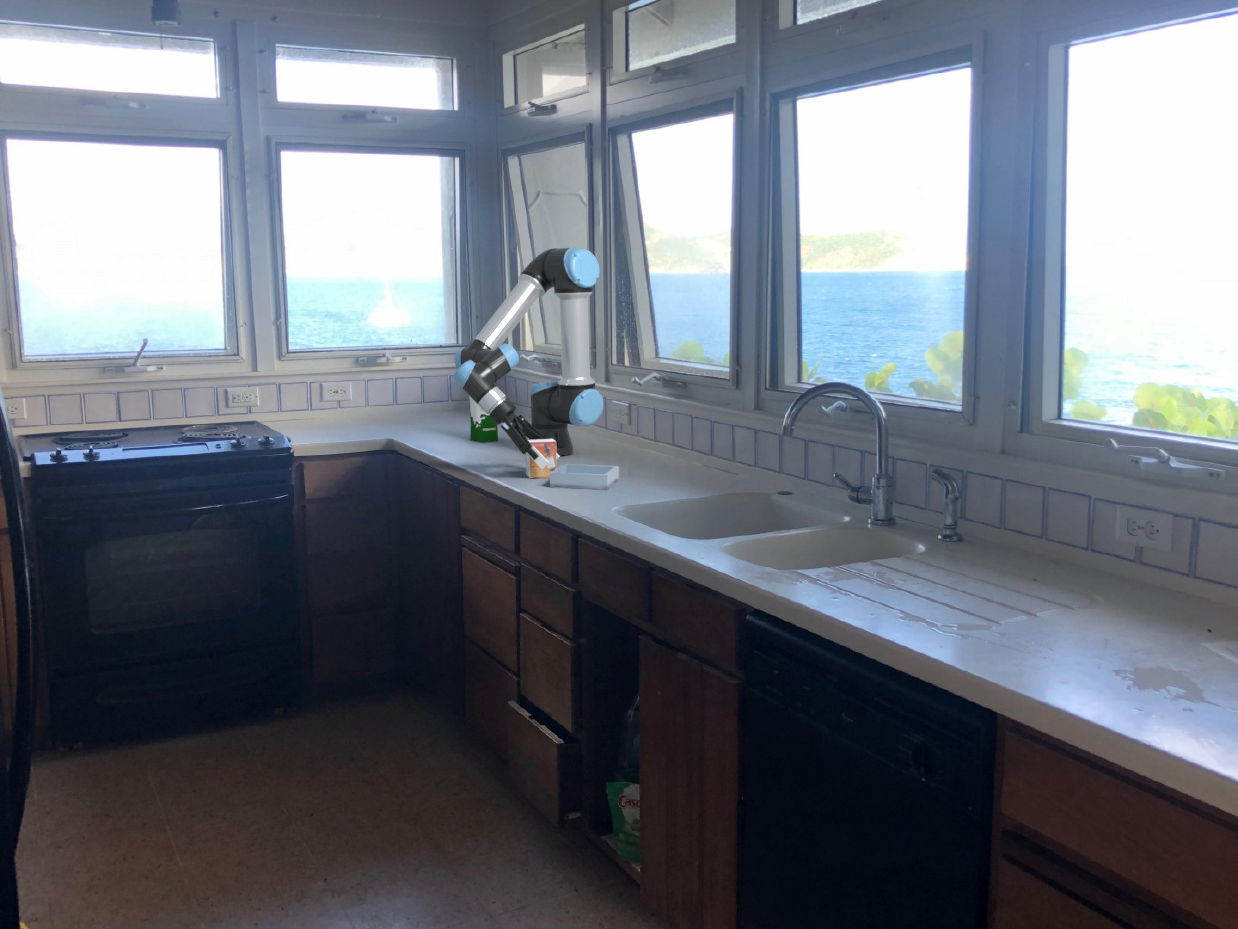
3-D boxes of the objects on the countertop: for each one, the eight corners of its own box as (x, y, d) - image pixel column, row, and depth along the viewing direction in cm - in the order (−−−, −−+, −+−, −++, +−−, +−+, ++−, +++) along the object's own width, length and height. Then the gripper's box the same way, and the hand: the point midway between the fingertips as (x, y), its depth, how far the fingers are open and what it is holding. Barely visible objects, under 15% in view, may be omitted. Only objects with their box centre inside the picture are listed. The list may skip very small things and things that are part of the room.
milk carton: (480, 443, 369) (479, 384, 366) (466, 440, 376) (464, 382, 372) (501, 440, 375) (500, 383, 371) (487, 437, 381) (486, 381, 378)
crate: (564, 477, 307) (563, 464, 306) (618, 480, 303) (618, 466, 302) (550, 487, 293) (549, 472, 292) (607, 489, 290) (607, 475, 289)
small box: (529, 478, 305) (528, 442, 304) (525, 475, 311) (525, 439, 309) (557, 477, 307) (556, 440, 306) (553, 474, 313) (552, 438, 311)
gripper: (502, 410, 320) (553, 464, 320) (475, 420, 299) (530, 478, 298) (518, 393, 318) (570, 447, 318) (493, 402, 297) (548, 460, 296)
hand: (551, 462), depth 308 cm, fingers open, 10 cm apart
